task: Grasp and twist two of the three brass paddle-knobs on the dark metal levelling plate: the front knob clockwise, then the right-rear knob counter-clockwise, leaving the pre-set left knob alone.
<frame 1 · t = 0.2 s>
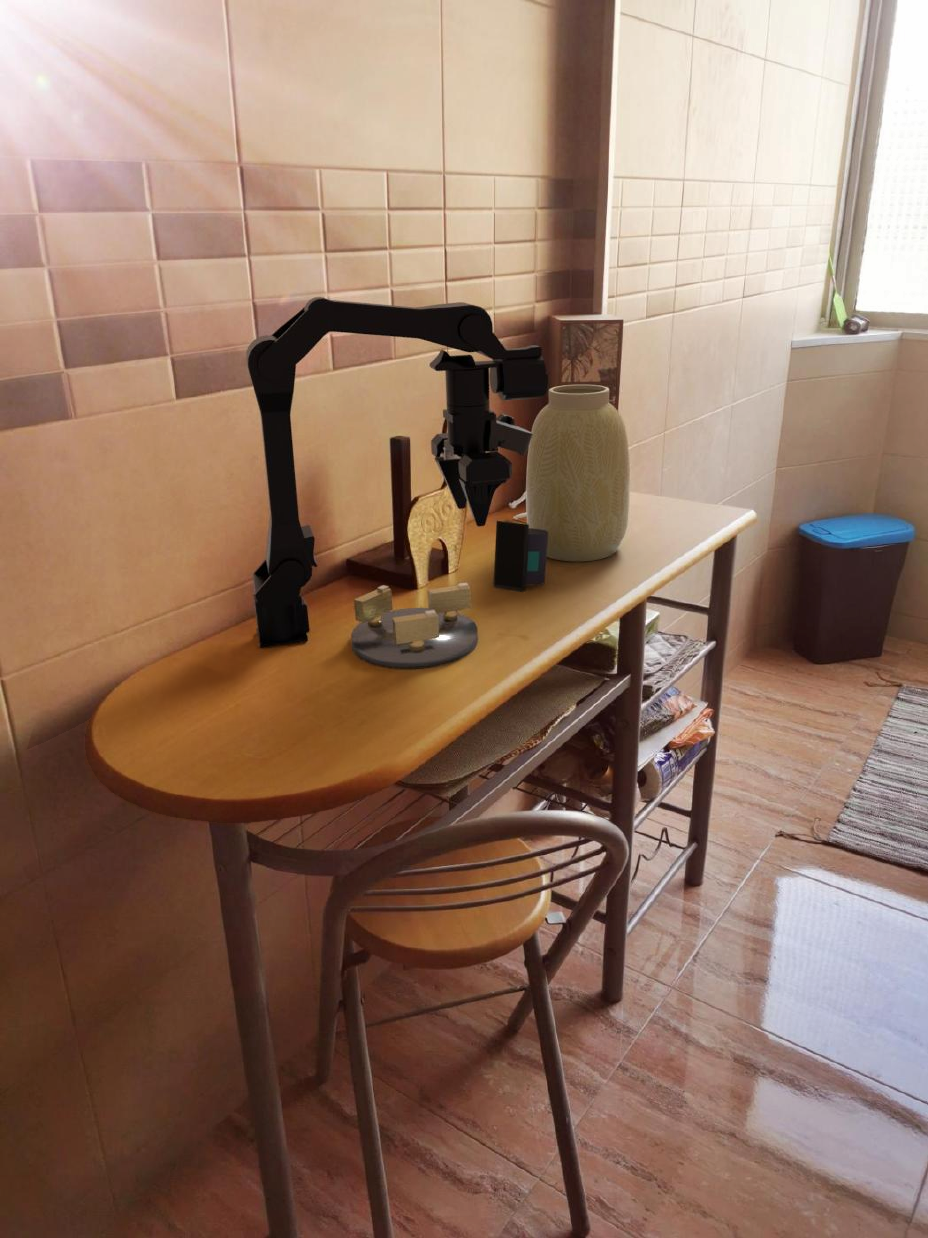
hand: (471, 516, 129), 14 cm above the table, fingers open, 9 cm apart
llama figurine: (555, 526, 173), on the table
levelling plate: (415, 641, 126), on the table
knob front: (416, 631, 118), point 4 cm above the table, hinge at 0.0°
vase: (576, 550, 159), on the table
knob left: (373, 608, 126), point 4 cm above the table, hinge at 35.0°
knob right: (449, 602, 127), point 4 cm above the table, hinge at 0.0°
speaker: (522, 584, 145), on the table
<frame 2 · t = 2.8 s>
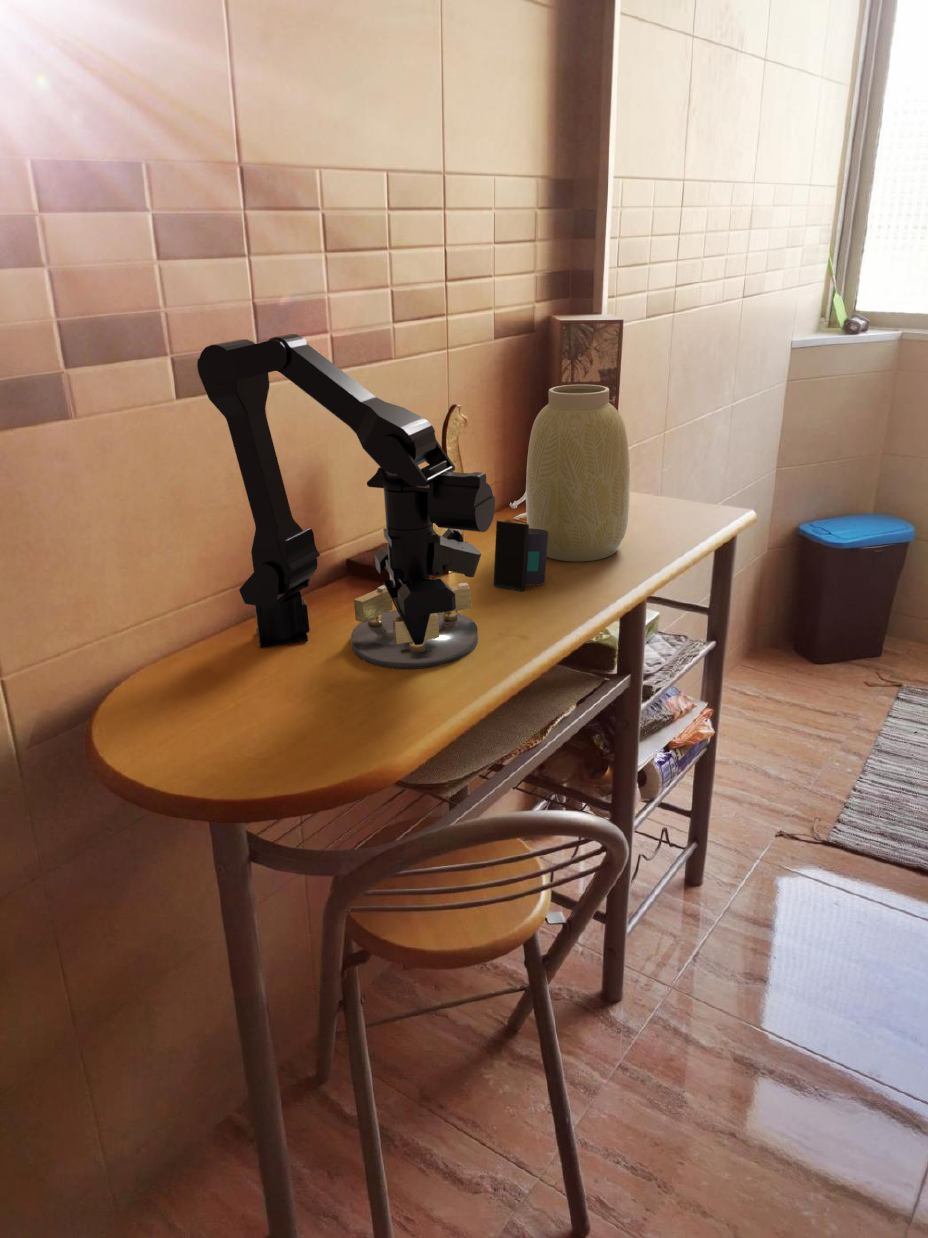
hand: (416, 640, 119), 3 cm above the table, fingers closed on knob front, 2 cm apart
knob front: (416, 631, 118), point 4 cm above the table, hinge at 0.0°, touching gripper
everything else where it was.
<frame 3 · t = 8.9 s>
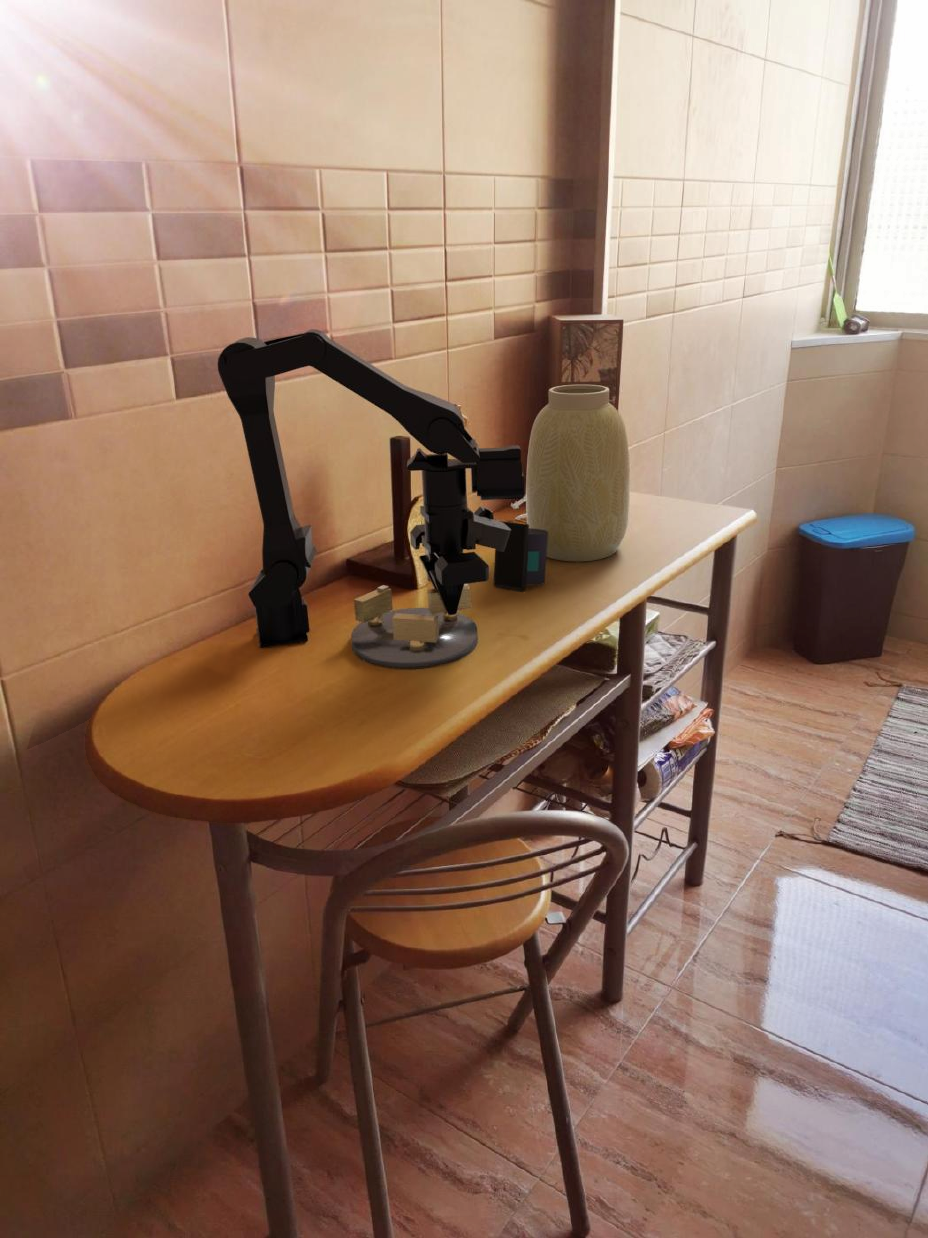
hand: (449, 611, 128), 3 cm above the table, fingers closed on knob right, 2 cm apart
knob front: (416, 631, 118), point 4 cm above the table, hinge at -30.2°
knob right: (449, 602, 127), point 4 cm above the table, hinge at 0.0°, touching gripper
everything else where it was.
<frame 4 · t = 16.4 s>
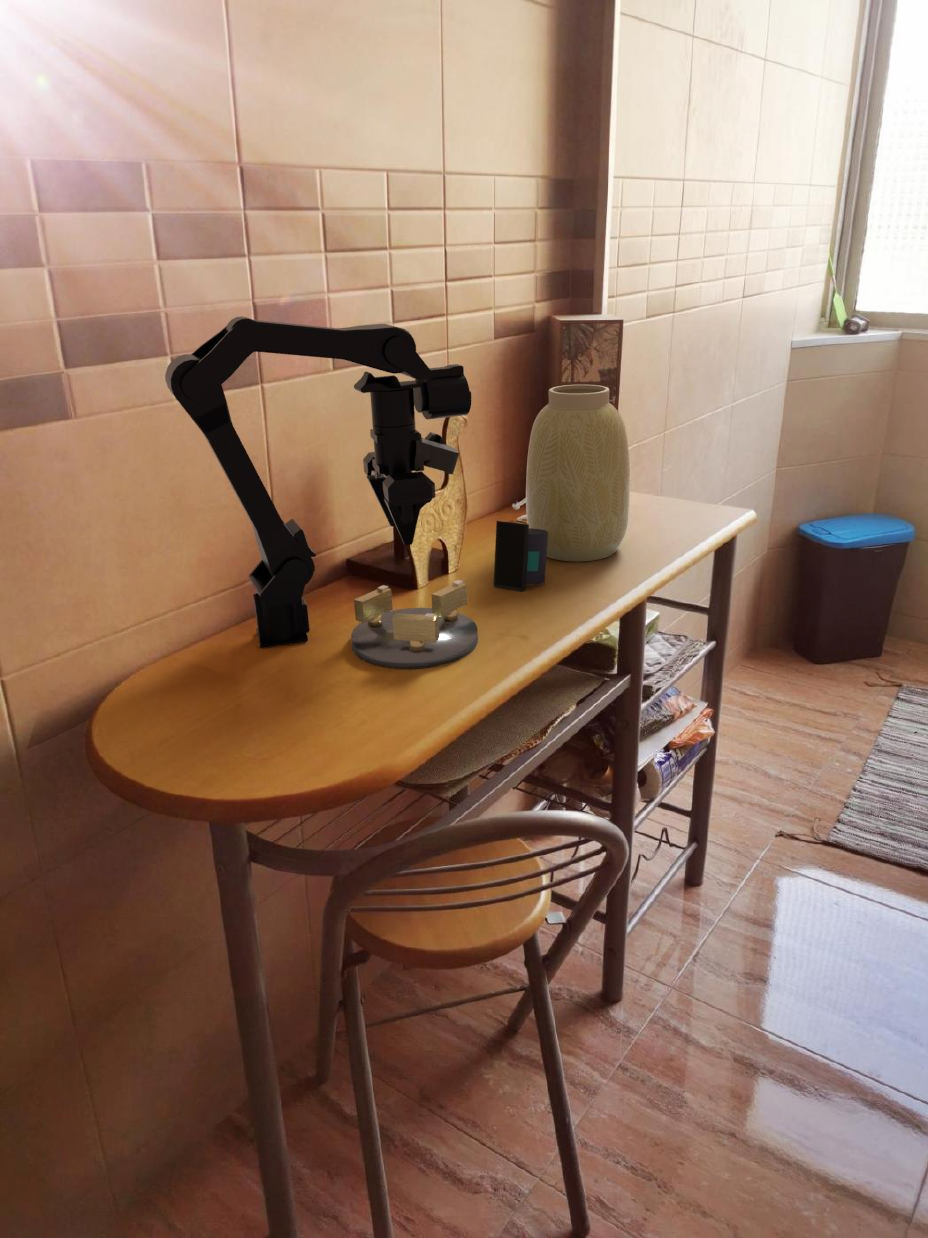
hand: (401, 534, 130), 12 cm above the table, fingers open, 9 cm apart
knob front: (416, 631, 118), point 4 cm above the table, hinge at -31.0°
knob right: (449, 602, 127), point 4 cm above the table, hinge at 36.0°
at the end: knob front at -31° (first picture: +0°); knob right at +36° (first picture: +0°) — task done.
